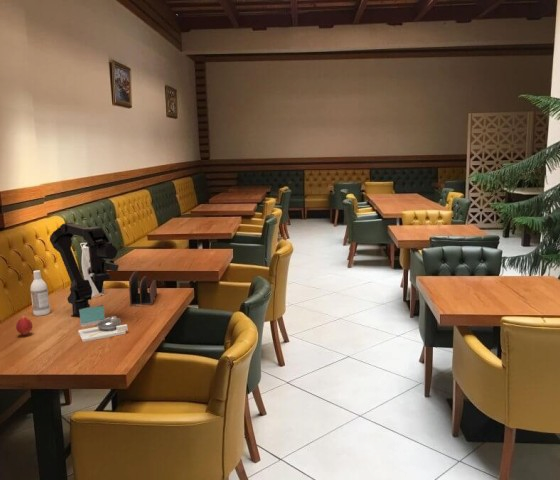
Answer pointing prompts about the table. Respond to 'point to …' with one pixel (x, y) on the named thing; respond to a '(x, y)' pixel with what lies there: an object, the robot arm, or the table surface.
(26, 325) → the onion
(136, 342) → the table surface
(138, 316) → the table surface
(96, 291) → the skyscraper
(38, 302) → the bath foam
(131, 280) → the letter holder
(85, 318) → the cam foot
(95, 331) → the plate
